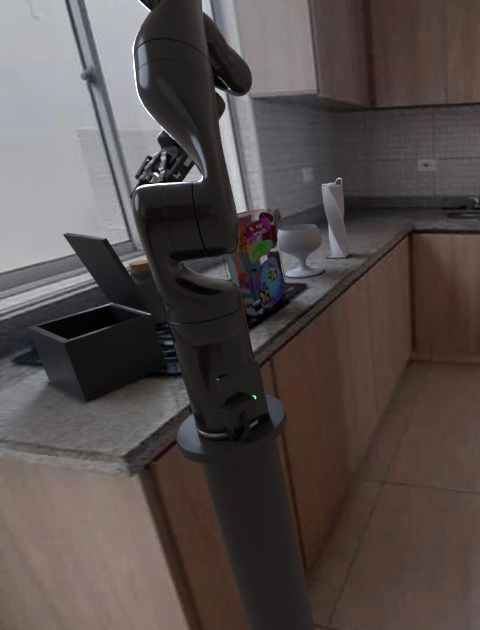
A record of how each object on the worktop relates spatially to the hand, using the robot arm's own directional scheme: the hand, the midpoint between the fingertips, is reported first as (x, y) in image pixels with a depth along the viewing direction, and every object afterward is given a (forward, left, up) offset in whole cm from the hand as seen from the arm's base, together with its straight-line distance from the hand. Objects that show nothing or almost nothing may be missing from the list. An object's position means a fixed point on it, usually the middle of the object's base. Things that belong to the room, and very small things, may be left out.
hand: (144, 200), depth 84 cm
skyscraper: (+21, -74, -30) cm, 83 cm away
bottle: (+20, -5, -30) cm, 37 cm away
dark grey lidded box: (0, +15, -30) cm, 34 cm away
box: (+2, -26, -30) cm, 40 cm away
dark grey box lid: (0, +10, -12) cm, 16 cm away
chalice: (+17, -52, -30) cm, 63 cm away
